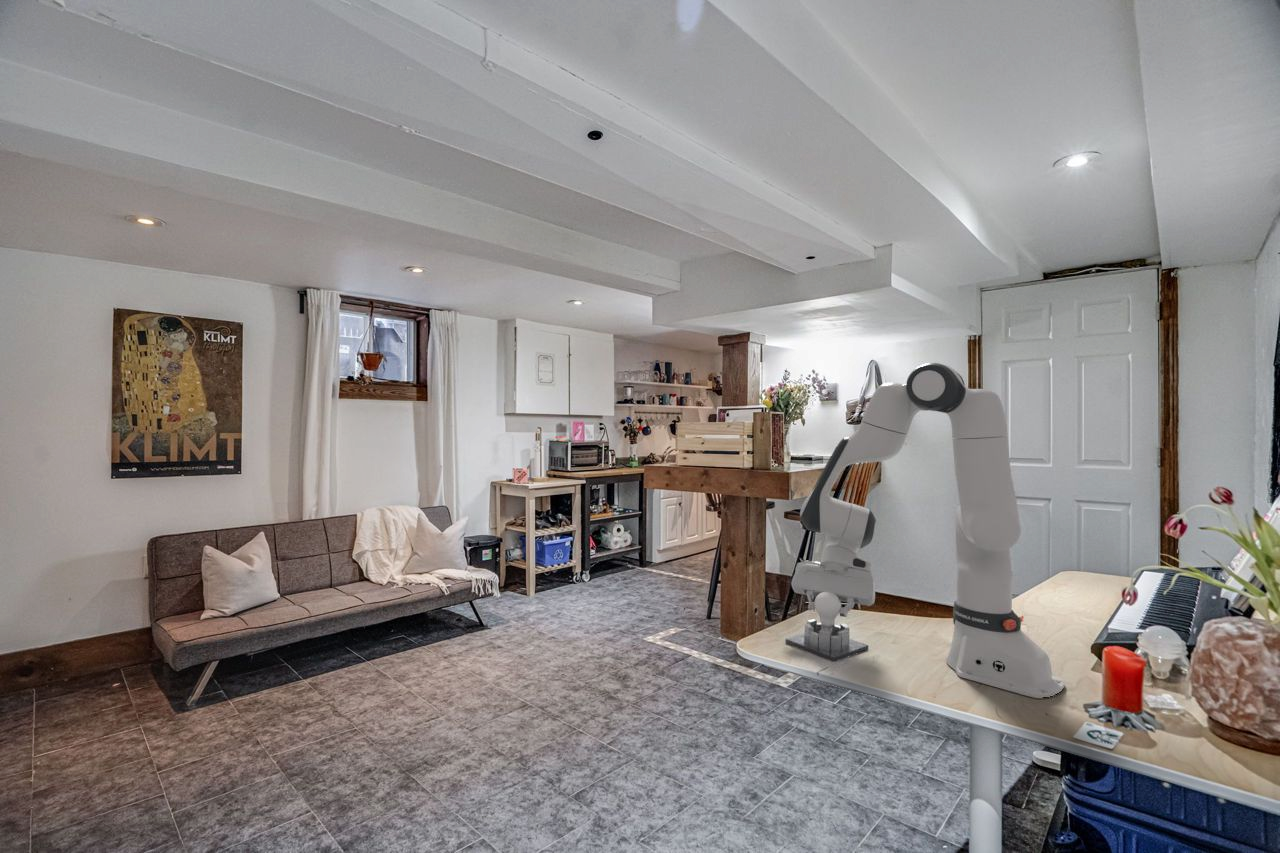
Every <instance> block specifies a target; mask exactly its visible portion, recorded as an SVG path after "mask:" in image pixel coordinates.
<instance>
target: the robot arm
mask: <svg viewBox="0 0 1280 853" xmlns="http://www.w3.org/2000/svg"><path fill="white" fill-rule="evenodd" d="M920 411H921V412H922V411H931V412H940V413H944V414H946V415H947V416H948V418H949V419H950V420H949V421H950V424H951V436H952V448H953V449H952V451H953V461H954V462H953V463H954V474H955V478H956V480H955V481H956V486H957V491H958V499H959V505H958V506H957V508H956V512H955V549H956V550H955V551H956V552H955V553H956V555H955V556H956V590H955V591H956V595H955V596H956V598H955V601H954V602H953V612H952V618H953V620H952V621H953V625H954V627H953V632H952V633H953V634H952V640H951V643H950V647H949V652H948V654H947V657H946V659H945V660H946V661H945V662H946V664H947V665H948V666H949V667H950V668H952V669H953V670H954V672H956V675H957V676H958V677H960V678H963V679H965V680H970V681H973V682H977V683H979V684H980V683H981V684H983V685H988V686H991V687H995V688H998V689H1001V690H1005V691H1008V692H1012V693H1016V694H1019V695H1022V696H1026V697H1029V698H1034V699H1044V698H1043V697H1049V698H1051V697H1050V696H1053V695H1055V694H1057V693H1059V692H1060V691H1061V690H1062V689H1063V688H1064V689H1065V683H1064V680H1063V679H1062V678H1061V677H1059V676H1057V675H1054V674H1053V672H1052V665H1051V660H1050V657H1049V655H1048V653H1047V652H1046V651H1045V650H1044V649H1042V647H1040V646H1039V645H1038V644H1036V642H1034V640H1032V639H1031V637H1029V636H1028V635H1027V634H1026V633H1025V632H1024V631H1022V629H1021V628H1022V622H1024V615H1021V616H1018V615H1017V613H1015V611H1014V610H1013V609H1012V608H1013V580H1014V575H1013V570H1012V561H1011V551H1010V549H1011V548H1013V547H1014V546H1015V545H1016V544H1017V543H1018V541H1019V539H1020V537H1021V533H1022V532H1021V524H1020V516H1019V509H1018V503H1017V497H1016V491H1015V487H1014V481H1013V476H1012V471H1011V462H1010V461H1011V458H1010V448H1009V435H1008V425H1007V419H1006V414H1005V410H1004V407H1003V403H1002V400H1001V398H1000V396H999V395H998V394H997V393H996V392H994V391H993V390H990V389H985V388H968V387H967V386H966V384H965V381H964V379H963V377H962V376H961V375H960V373H959V372H958V371H957V370H955V369H954V368H953V367H951V366H949V365H946V364H944V363H939V362H938V363H937V362H926V363H924V364H921V365H919V366H917V367H916V368H914V369H913V371H911V372H910V374H909V375H908V376H907V379H906V383H903V384H902V383H897V382H886V383H882V384H880V385H878V387H877V388H876V389H875V390H874V392H873V394H872V396H871V398H870V399H869V402H868V404H867V406H866V408H865V411H864V413H863V416H862V419H861V420H860V421H861V422H860V424H859V426H858V427H857V429H856V430H855V431H854V433H852V434H851V435H849V436H845V437H843V438H842V439H841V440H840V441H839V442H838V444H837V445H836V447H835V448H834V450H833V452H832V454H830V457H829V459H828V461H827V462H826V464H825V466H824V468H823V470H822V472H821V473H820V475H819V477H818V479H817V480H816V483H815V484H814V486H813V488H812V490H811V491H810V493H809V494H808V496H807V497H806V499H805V500H804V502H803V503H802V505H801V508H800V512H799V519H800V521H801V523H802V524H803V526H804V527H805V528H806V530H808V531H810V532H816V533H819V534H820V533H821V534H825V535H826V536H825V546H824V547H823V549H822V553H821V556H820V557H821V558H820V561H811V560H810V561H809V560H802V561H800V562H797V564H796V567H795V570H794V571H795V572H794V575H793V577H792V579H791V583H790V584H791V588H792V590H793V592H794V593H795V594H799V595H806V596H807V600H808V606H807V608H808V611H810V612H816V609H815V605H814V602H815V601H812V600H814V598H816V597H817V595H818V594H820V593H822V592H826V591H827V592H832V593H834V594H835V595H837V596H838V598H839V599H840V602H844V603H847V604H845V605H844V607H843V606H841V609H840V613H839V617H842V618H848V613H849V612H850V611H851V610H852V609H853V608H854V607H855V604H856V605H861V606H867V607H872V605H874V604H875V600H876V587H875V586H876V585H875V581H874V570H873V567H872V565H871V562H869V561H867V560H864V559H862V558H859V557H858V552H859V550H861V549H863V548H865V547H867V546H868V545H869V544H870V543H871V542H872V541H873V538H874V534H875V533H874V532H875V525H876V522H877V520H876V517H875V515H874V513H873V511H872V510H871V509H868V508H867V507H864V506H862V505H859V504H855V503H853V502H852V503H850V502H847V501H844V500H841V499H838V498H835V497H832V496H830V493H831V491H832V489H833V487H834V485H835V484H836V481H837V479H838V478H839V476H840V474H841V473H842V471H843V470H844V469H845V468H846V467H848V466H851V465H854V464H862V463H879V462H883V461H888V460H890V459H892V458H894V457H895V456H897V455H898V454H899V453H900V451H901V450H902V448H903V446H904V444H905V441H906V439H907V436H908V432H909V430H910V427H911V424H912V421H913V420H914V417H915V416H916V415H917V414H918V413H919V412H920ZM1059 694H1060V693H1059ZM1055 696H1056V695H1055ZM1053 697H1054V696H1053Z"/></svg>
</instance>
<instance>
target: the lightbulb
mask: <svg viewBox="0 0 1280 853" xmlns="http://www.w3.org/2000/svg"><path fill="white" fill-rule="evenodd" d="M814 598H815V599H814V601H813V602H814V605H815V612H816V613H817V615H818V616H819V621H820V622H819V623H821V630H822V631H828V632H831V635H832V629H833V628H832V627H833V624H834V625H835V622H834V621H836V620H835V619H836V618H837V616H839V615H840V609H841V607H842V601H840V599H839V598H838V596H837V595H835V594H834V593H832V592H827V591H826V592H822V593H820V594H818V595H817V597H816V596H815V597H814Z"/></svg>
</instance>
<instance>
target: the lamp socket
mask: <svg viewBox="0 0 1280 853" xmlns="http://www.w3.org/2000/svg"><path fill="white" fill-rule="evenodd" d="M835 621H836V620H835ZM835 621H834V624H833V627H832V628H833V629H832V635H831V632H828V631H822V630H821V622H818V620H817V619H814V618H812V619H811V618H810V619H808V620H806V624H804V632H803V633H800V634H797V635H794V636H790V637H787V638H785V643H786V644H787V645H790V646H792V645H793V646H792V647H795V648H797V649H800V650H802V651H804V652H807V653H810V654H813V655H815V656H817V657H820V658H822V659H825V660H828V661H830V662H832V661H833V663H834V661H835V662H837V660H838V661H841V660H843V659H846V658H848V656H849V657H851V656H854V655H856V653H857V654H859V653H860V654H861V652H864V651H867V650H869V644H866V643H863V642H860V641H857V640H854V639H852V638H850V635H851V634H850V633H851V632H850V627H849V626H848V625H847V624H846V623H839V625H838V624H835V623H836V622H835Z"/></svg>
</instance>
